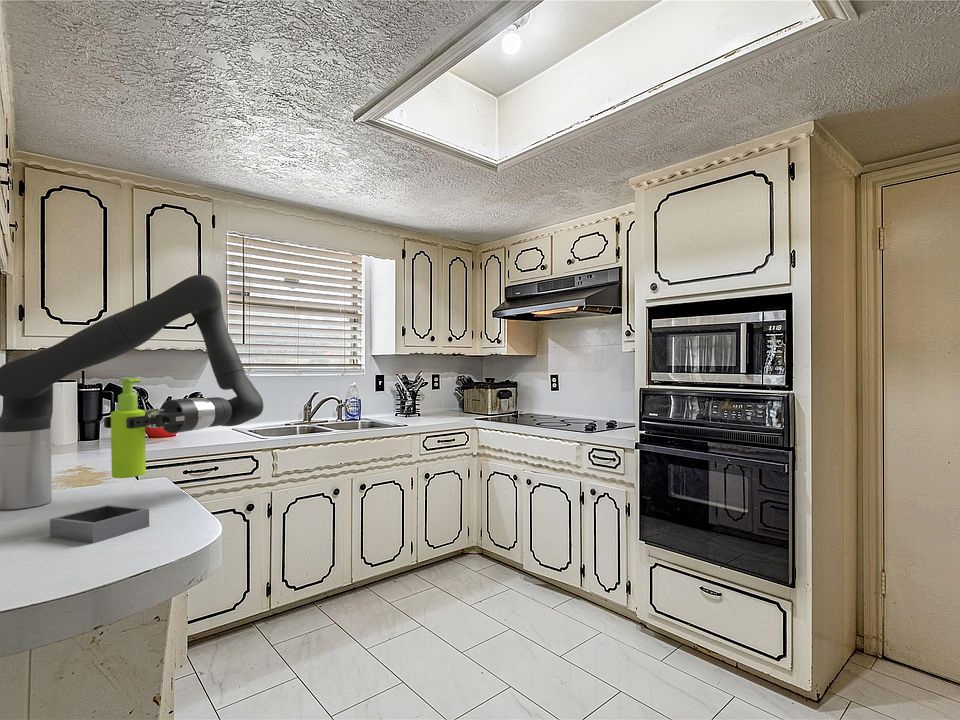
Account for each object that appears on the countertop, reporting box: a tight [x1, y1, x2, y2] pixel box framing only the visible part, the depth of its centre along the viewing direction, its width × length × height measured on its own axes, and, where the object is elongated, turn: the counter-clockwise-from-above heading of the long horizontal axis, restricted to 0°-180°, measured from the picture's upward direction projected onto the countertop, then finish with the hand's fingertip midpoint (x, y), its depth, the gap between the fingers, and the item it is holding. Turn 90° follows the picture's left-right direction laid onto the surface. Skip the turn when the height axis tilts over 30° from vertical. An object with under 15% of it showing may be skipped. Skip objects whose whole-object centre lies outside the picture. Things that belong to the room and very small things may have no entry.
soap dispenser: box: [110, 377, 147, 479], centre depth 111 cm, size 6×7×20 cm
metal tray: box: [49, 504, 150, 544], centre depth 102 cm, size 12×11×3 cm
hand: (116, 422), depth 109 cm, fingers closed on soap dispenser, 6 cm apart
